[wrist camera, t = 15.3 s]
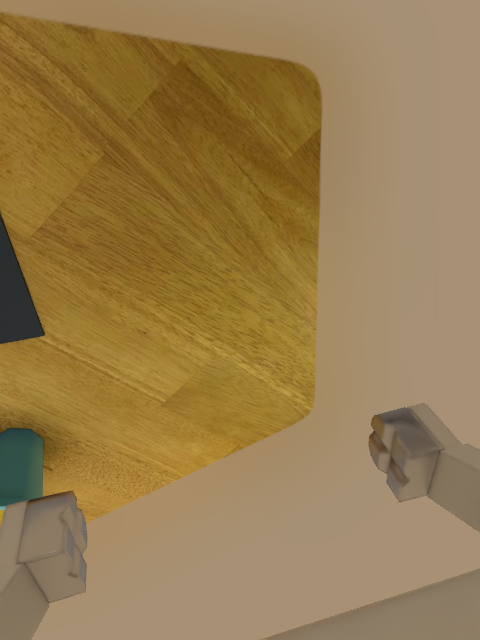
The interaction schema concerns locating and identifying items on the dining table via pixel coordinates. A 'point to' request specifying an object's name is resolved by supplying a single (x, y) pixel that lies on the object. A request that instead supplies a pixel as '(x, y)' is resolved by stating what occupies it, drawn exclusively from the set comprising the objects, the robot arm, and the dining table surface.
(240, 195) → the dining table surface
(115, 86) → the dining table surface
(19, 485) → the cup
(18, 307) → the corner mat
